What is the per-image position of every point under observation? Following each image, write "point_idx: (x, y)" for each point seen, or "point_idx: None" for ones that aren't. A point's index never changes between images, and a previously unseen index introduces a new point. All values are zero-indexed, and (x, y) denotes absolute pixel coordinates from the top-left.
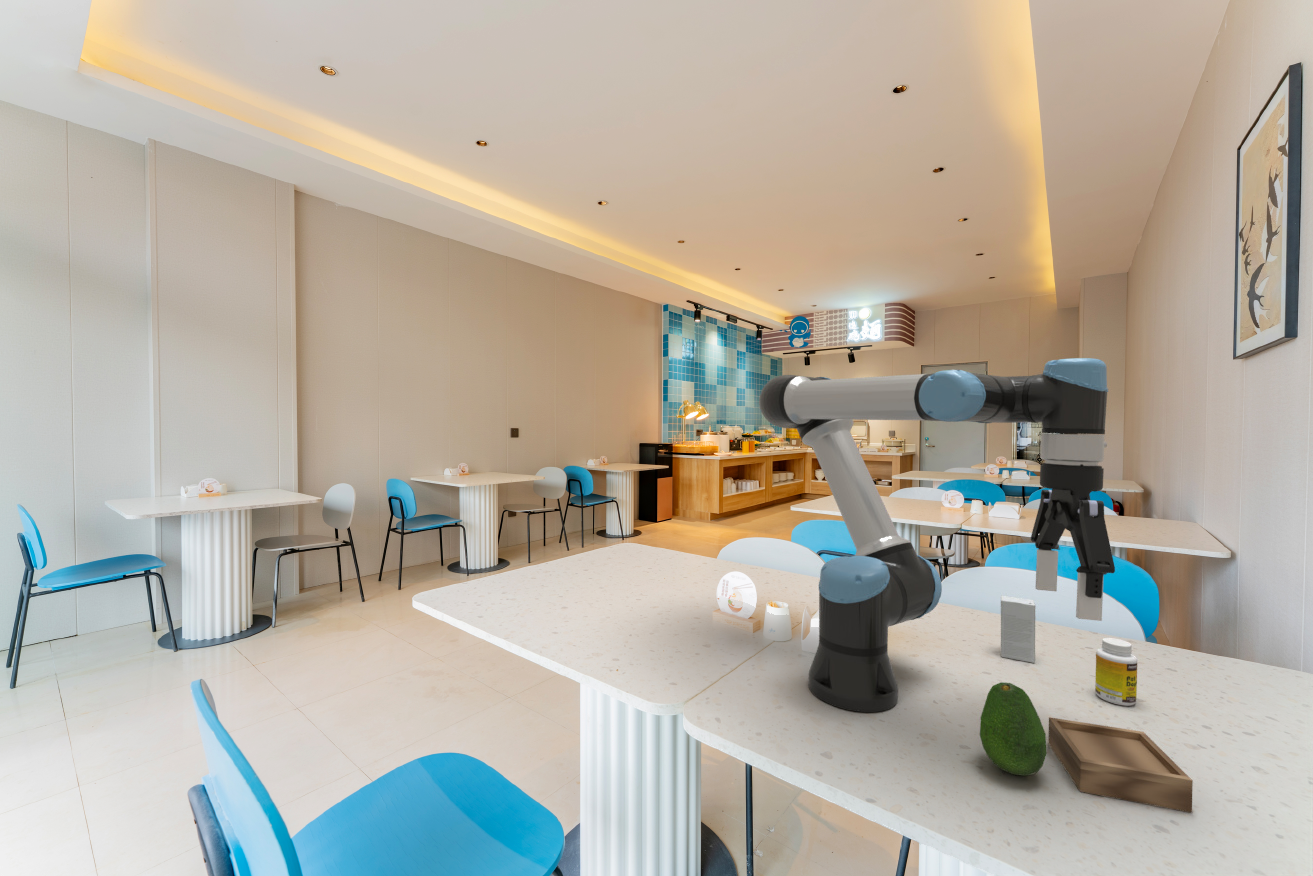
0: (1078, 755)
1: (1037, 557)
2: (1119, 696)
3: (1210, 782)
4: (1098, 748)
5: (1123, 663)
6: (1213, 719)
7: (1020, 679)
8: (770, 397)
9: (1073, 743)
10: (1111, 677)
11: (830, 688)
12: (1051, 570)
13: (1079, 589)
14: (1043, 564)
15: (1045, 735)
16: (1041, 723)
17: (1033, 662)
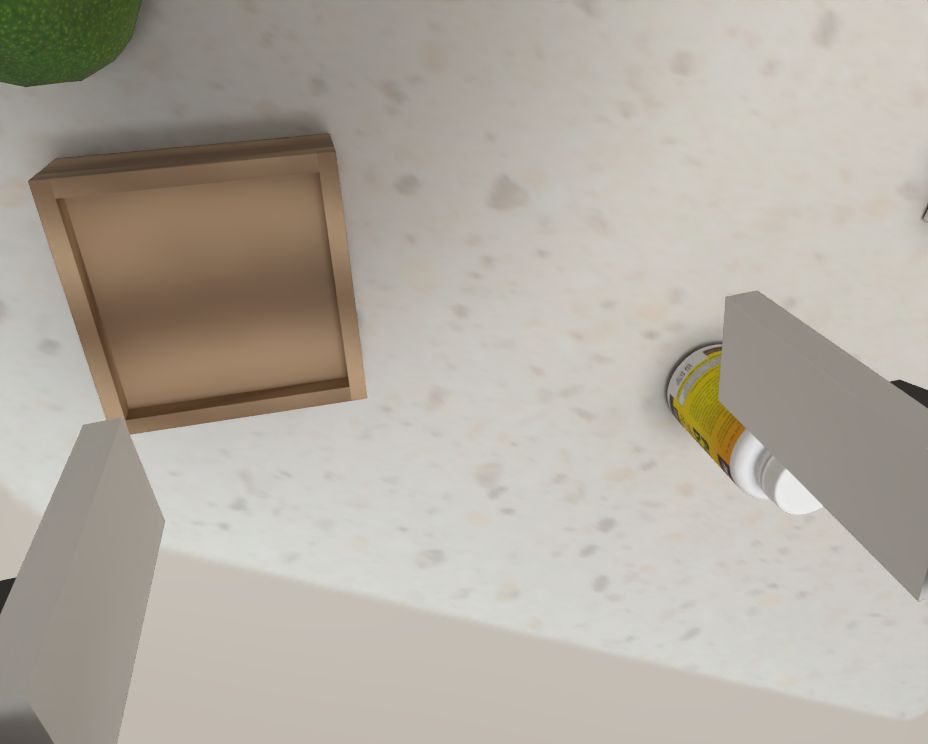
0: (71, 183)
1: (915, 416)
2: (677, 395)
3: (314, 464)
4: (225, 260)
5: (730, 458)
6: (651, 546)
7: (790, 145)
8: None
9: (156, 187)
10: (712, 404)
11: None
12: (809, 451)
13: (26, 568)
14: (844, 426)
15: (9, 83)
16: (6, 75)
17: (925, 216)
